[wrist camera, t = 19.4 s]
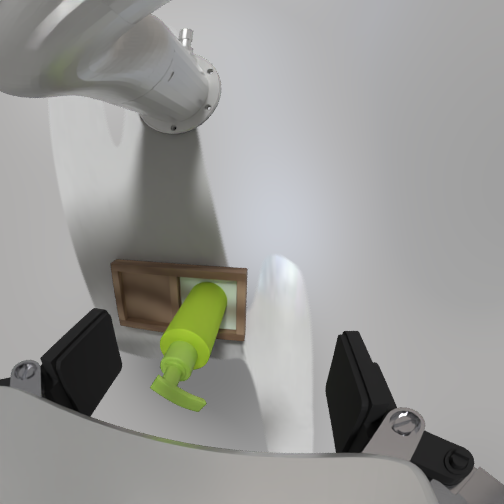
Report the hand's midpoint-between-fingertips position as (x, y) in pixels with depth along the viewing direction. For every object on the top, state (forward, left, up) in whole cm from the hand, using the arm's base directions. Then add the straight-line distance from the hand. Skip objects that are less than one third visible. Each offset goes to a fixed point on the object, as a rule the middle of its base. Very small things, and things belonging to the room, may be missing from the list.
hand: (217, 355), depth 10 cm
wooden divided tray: (+13, -12, -30) cm, 35 cm away
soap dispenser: (+13, -6, -29) cm, 33 cm away
